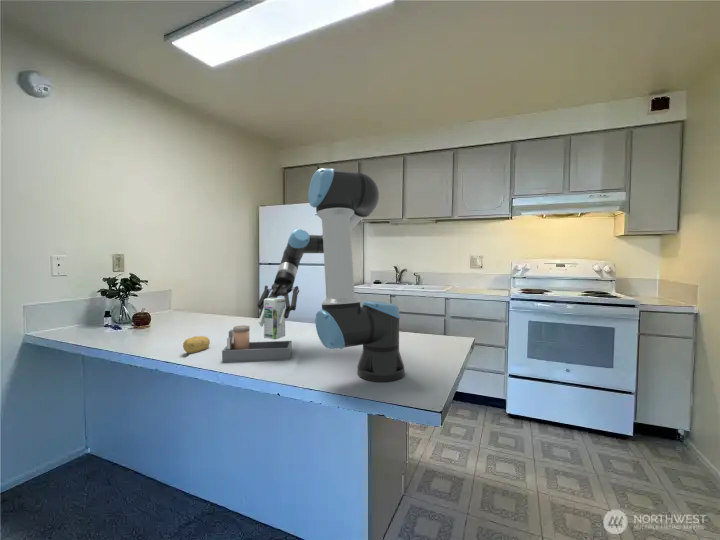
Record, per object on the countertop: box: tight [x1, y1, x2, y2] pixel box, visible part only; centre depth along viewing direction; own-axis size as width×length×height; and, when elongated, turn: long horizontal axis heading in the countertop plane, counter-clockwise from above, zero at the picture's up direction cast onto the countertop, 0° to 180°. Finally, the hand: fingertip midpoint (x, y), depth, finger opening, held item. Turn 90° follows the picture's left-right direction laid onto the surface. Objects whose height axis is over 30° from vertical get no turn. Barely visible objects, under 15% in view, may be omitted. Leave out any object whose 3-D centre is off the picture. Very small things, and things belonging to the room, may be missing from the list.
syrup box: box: [263, 297, 286, 341], centre depth 125 cm, size 6×6×14 cm
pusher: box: [226, 329, 234, 350], centre depth 123 cm, size 1×8×9 cm, turn 7°
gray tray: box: [221, 340, 293, 363], centre depth 124 cm, size 23×11×5 cm, turn 98°
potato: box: [182, 335, 211, 354], centre depth 133 cm, size 7×11×6 cm, turn 155°
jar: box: [232, 325, 251, 350], centre depth 123 cm, size 6×6×11 cm
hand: (270, 324), depth 122 cm, fingers closed on syrup box, 7 cm apart
